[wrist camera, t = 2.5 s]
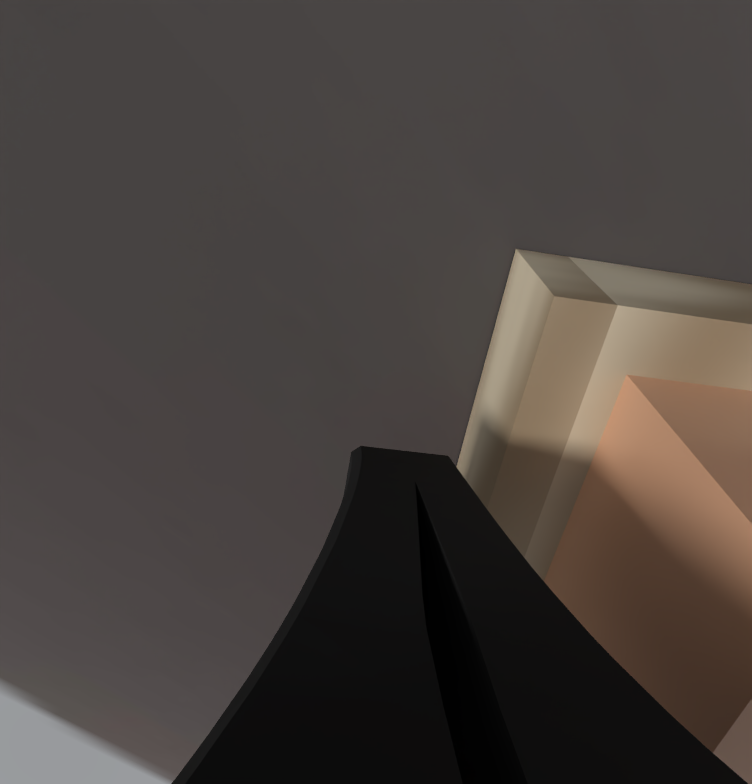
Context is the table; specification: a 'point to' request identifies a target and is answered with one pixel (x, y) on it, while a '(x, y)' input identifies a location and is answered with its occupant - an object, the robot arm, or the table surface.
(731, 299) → the trap board
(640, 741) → the robot arm
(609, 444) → the block
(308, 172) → the table surface
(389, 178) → the table surface
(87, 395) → the table surface
